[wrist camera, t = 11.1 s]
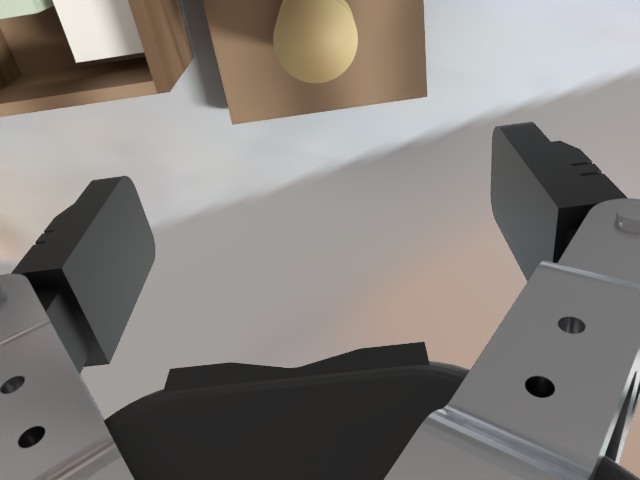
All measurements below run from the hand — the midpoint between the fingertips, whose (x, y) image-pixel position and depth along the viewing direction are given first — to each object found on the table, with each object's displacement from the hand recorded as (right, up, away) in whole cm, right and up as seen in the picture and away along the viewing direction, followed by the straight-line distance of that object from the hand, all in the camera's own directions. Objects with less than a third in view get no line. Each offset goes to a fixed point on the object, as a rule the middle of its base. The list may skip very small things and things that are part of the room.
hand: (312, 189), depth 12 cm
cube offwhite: (-10, +11, +16) cm, 22 cm away
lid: (0, +11, +16) cm, 19 cm away
